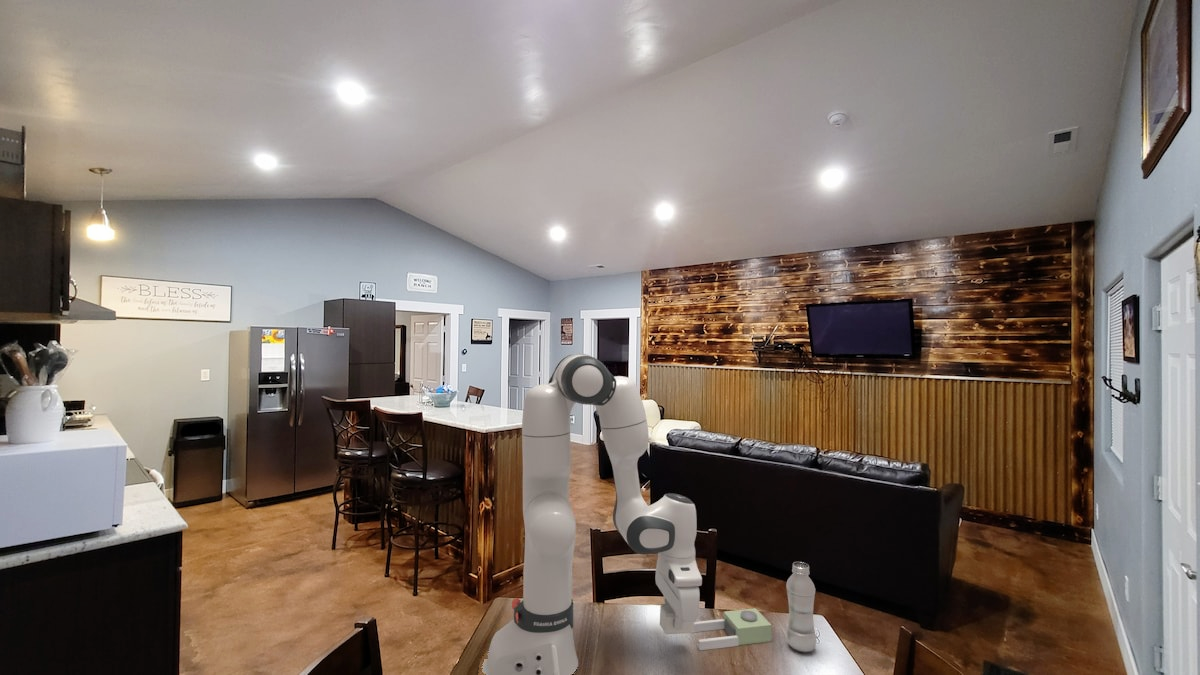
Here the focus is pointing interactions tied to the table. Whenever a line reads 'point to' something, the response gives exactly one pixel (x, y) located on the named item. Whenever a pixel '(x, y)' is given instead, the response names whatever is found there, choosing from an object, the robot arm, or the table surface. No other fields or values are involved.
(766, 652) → the table surface
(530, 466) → the robot arm
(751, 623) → the pale green forked block
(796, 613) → the plastic bottle
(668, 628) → the white stepped block
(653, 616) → the table surface
